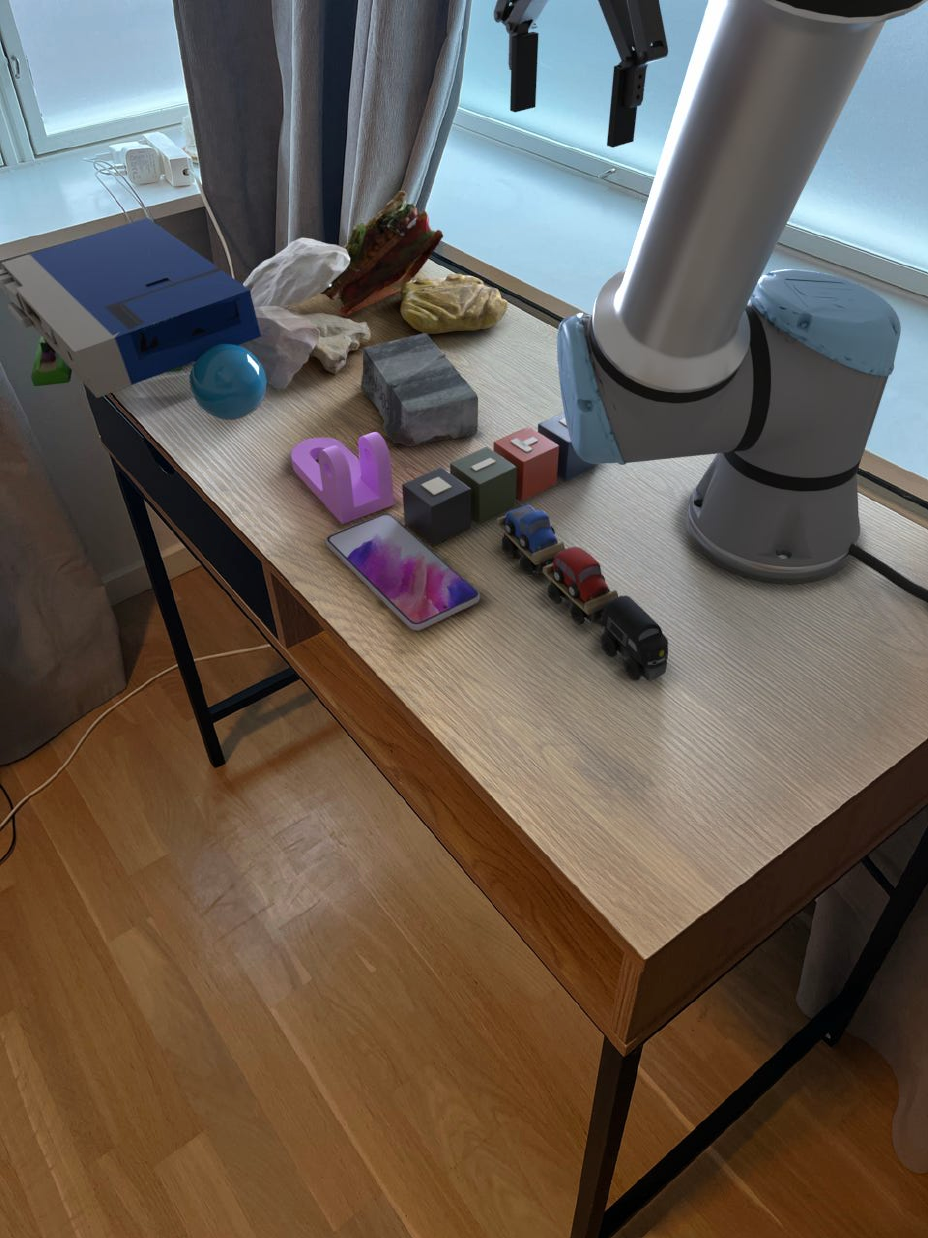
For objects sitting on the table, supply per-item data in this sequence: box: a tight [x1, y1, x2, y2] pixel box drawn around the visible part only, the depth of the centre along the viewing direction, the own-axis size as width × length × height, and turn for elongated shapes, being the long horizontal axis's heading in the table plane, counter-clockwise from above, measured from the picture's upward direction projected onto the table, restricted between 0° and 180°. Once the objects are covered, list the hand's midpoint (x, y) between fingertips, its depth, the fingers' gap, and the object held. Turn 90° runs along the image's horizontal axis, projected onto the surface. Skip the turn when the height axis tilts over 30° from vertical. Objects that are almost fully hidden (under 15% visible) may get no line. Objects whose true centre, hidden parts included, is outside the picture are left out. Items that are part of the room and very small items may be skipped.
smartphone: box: [325, 512, 481, 632], centre depth 85 cm, size 7×1×15 cm
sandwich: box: [319, 190, 444, 317], centre depth 122 cm, size 16×12×8 cm
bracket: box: [290, 431, 395, 525], centre depth 94 cm, size 13×6×7 cm, turn 33°
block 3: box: [537, 411, 599, 482], centre depth 97 cm, size 4×4×5 cm
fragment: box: [242, 237, 350, 309], centre depth 119 cm, size 15×20×5 cm
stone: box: [286, 308, 371, 375], centre depth 115 cm, size 13×4×10 cm
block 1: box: [401, 466, 472, 547], centre depth 89 cm, size 4×4×5 cm
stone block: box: [360, 332, 479, 447], centre depth 104 cm, size 9×14×5 cm, turn 24°
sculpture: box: [400, 272, 509, 335], centre depth 122 cm, size 13×4×15 cm
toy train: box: [495, 504, 669, 682], centre depth 81 cm, size 4×22×5 cm, turn 31°
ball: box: [189, 344, 268, 421], centre depth 103 cm, size 8×8×8 cm
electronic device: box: [0, 217, 261, 399], centre depth 108 cm, size 20×5×30 cm
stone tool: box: [239, 306, 320, 390], centre depth 111 cm, size 9×5×15 cm
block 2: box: [449, 446, 517, 524], centre depth 92 cm, size 4×4×5 cm
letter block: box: [492, 426, 559, 502], centre depth 94 cm, size 4×4×5 cm
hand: (569, 125), depth 93 cm, fingers open, 13 cm apart
